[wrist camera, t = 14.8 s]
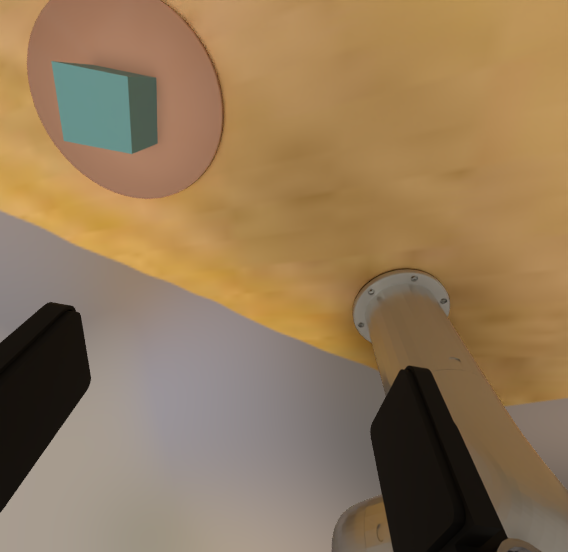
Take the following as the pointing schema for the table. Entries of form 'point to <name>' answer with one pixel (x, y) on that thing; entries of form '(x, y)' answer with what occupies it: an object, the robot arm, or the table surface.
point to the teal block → (106, 107)
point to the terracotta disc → (141, 60)
